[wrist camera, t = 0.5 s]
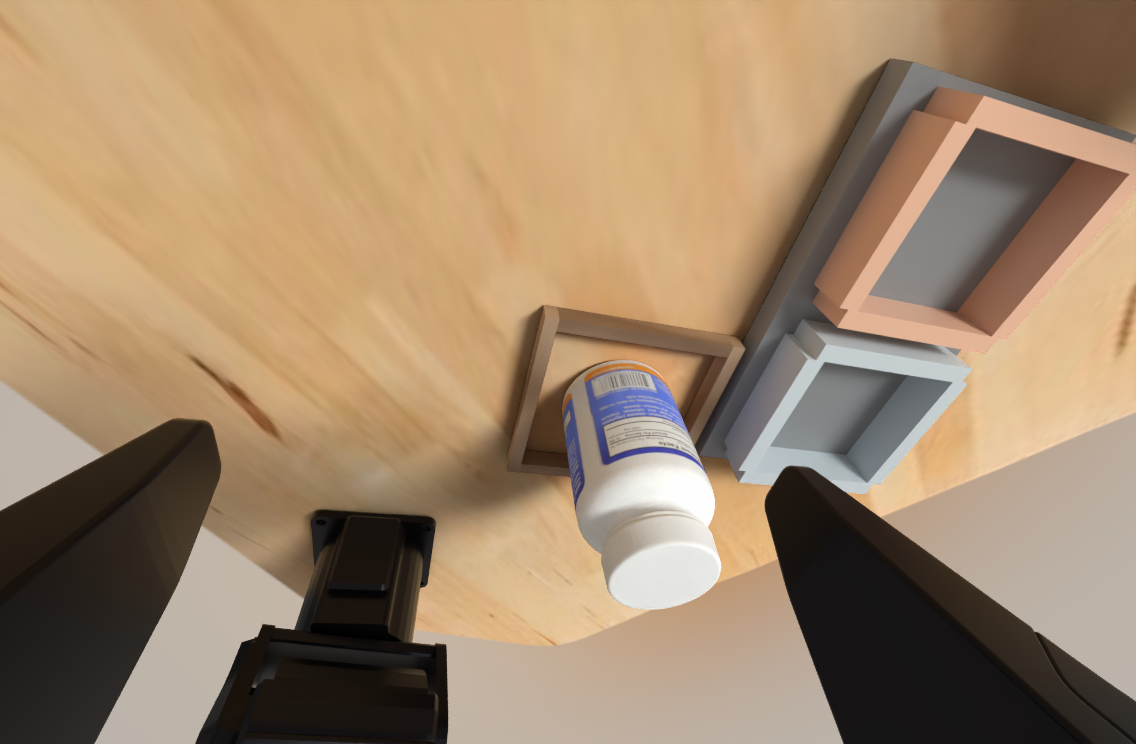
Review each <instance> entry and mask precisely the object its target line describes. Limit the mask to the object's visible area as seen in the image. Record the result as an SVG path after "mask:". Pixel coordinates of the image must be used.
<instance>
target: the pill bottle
mask: <svg viewBox="0 0 1136 744" xmlns="http://www.w3.org/2000/svg"><path fill="white" fill-rule="evenodd" d="M562 417H563V426H564V433H565V439H566V447H567V454H568V461H569V468H570V475H571V482H572V489H573V496H574V504H575V510H576V516H577V521H578V526H579V529H580V531H581V533H582V535H583V537H584V539H585V540H586V541H587V542H588V543H589V545H590V546H591V547H593V548H594V549H595V550H596V551H598V552H599V553H601V554H602V555H601V562H602V567H603V571H604V575H605V580H606V584H607V588H608V591H609V593H610V594H611V596H612V597H613V598H614V599H615V600H616V601H618V602H619V603H621V604H623V605H625V606H628V607H631V608H637V609H650V610H653V609H664V608H670V607H674V606H678V605H681V604H683V603H686V602H688V601H691V600H694V599H696V598H698V597H699V596H701V595H702V594H704V593H706V592H707V591H708V590H709V589H710V588H711V587H712V586H713V585H714V584H715V582H716V581H717V580H718V577H719V575H720V572H721V562H720V559H719V555H718V552H717V549H716V546H715V543H714V539H713V536H712V533H711V531H710V530H709V529H708V526H709V524H710V522H711V520H712V517H713V514H714V509H715V499H714V493H713V490H712V487H711V485H710V482H709V479H708V477H707V475H706V472H705V470H704V468H703V465H702V463H701V461H700V459H699V456H698V454H697V452H696V449H695V447H694V445H693V442H692V440H691V438H690V436H689V433H688V431H687V429H686V426H685V424H684V422H683V419H682V417H681V415H680V412H679V410H678V408H677V405H676V403H675V401H674V398H673V396H672V394H671V392H670V389H669V387H668V385H667V384H666V382H665V380H664V379H663V378H662V376H661V375H660V374H659V373H658V372H657V371H656V370H654V369H653V368H651V367H650V366H648V365H646V364H643V363H641V362H638V361H633V360H614V361H609V362H605V363H602V364H599V365H596V366H594V367H592V368H590V369H588V370H587V371H585V372H584V373H582V374H581V375H580V376H579V377H578V378H576V379H575V380H574V382H573V383H572V384H571V385H570V387H569V388H568V390H567V392H566V394H565V396H564V400H563V405H562Z"/></svg>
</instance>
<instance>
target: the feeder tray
mask: <svg viewBox="0 0 1136 744" xmlns="http://www.w3.org/2000/svg"><path fill="white" fill-rule="evenodd" d="M556 331H557V332H563V333H570V334H576V335H583V336H589V337H596V338H602V339H609V340H615V341H622V342H628V343H635V344H641V345H648V346H654V347H661V348H668V349H674V350H681V351H687V352H694V353H700V354H707V355H713V356H715V358H714V360H713V362H712V364H711V366H710V368H709V370H708V372H707V374H706V376H705V378H704V380H703V382H702V384H701V386H700V388H699V390H698V392H697V394H696V396H695V398H694V400H693V402H692V404H691V407H690V409H689V411H688V413H687V415H686V417H685V419H684V421H683V422H684V424H685V426H686V429H687V431H688V433H689V436H690V438H691V440H692V442H693V445H694V446H695V444H696V442H697V440H698V438H699V436H700V434H701V432H702V430H703V428H704V427H705V425H706V423H707V421H708V419H709V417H710V415H711V413H712V411H713V410H714V408H715V406H716V404H717V402H718V400H719V398H720V396H721V394H722V393H723V391H724V389H725V387H726V385H727V383H728V381H729V379H730V377H731V376H732V374H733V372H734V370H735V368H736V366H737V364H738V362H739V360H740V359H741V357H742V355H743V353H744V351H745V347H744V346H743V344H742V343H741V341H740V340H739V338H738V337H736V336H729V335H723V334H717V333H711V332H705V331H699V330H693V329H687V328H681V327H675V326H669V325H663V324H656V323H650V322H644V321H638V320H632V319H626V318H620V317H614V316H608V315H602V314H596V313H589V312H583V311H577V310H571V309H565V308H559V307H553V306H547V305H544V306H543V310H542V315H541V319H540V323H539V327H538V331H537V335H536V339H535V344H534V348H533V352H532V356H531V360H530V364H529V369H528V373H527V377H526V381H525V385H524V389H523V393H522V398H521V402H520V406H519V410H518V414H517V418H516V423H515V427H514V431H513V435H512V439H511V443H510V447H509V452H508V456H507V471H511V472H522V473H534V474H545V475H556V476H568V477H571V475H570V468H569V461H568V455H567V454H557V453H547V452H536V451H526V450H525V448H526V444H527V440H528V436H529V433H530V429H531V425H532V421H533V418H534V414H535V410H536V406H537V403H538V399H539V395H540V391H541V387H542V384H543V380H544V376H545V372H546V369H547V365H548V361H549V357H550V354H551V350H552V346H553V342H554V339H555V335H556Z"/></svg>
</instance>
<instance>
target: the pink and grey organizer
mask: <svg viewBox="0 0 1136 744" xmlns="http://www.w3.org/2000/svg"><path fill="white" fill-rule="evenodd" d="M1135 137H1136V135H1134V134H1131V133H1128V132H1125V131H1122V130H1119V129H1116V128H1113V127H1110V126H1107V125H1104V124H1101V123H1098V122H1095V121H1091V120H1088V119H1085V118H1082V117H1079V116H1076V115H1073V114H1070V113H1067V112H1064V111H1061V110H1058V109H1055V108H1052V107H1049V106H1046V105H1043V104H1040V103H1037V102H1034V101H1031V100H1028V99H1025V98H1022V97H1018V96H1015V95H1012V94H1009V93H1006V92H1003V91H1000V90H997V89H994V88H991V87H988V86H985V85H982V84H979V83H976V82H973V81H970V80H967V79H964V78H961V77H958V76H955V75H952V74H948V73H945V72H942V71H939V70H936V69H933V68H930V67H927V66H924V65H921V64H918V63H915V62H910V61H904V60H897V59H890V60H889V62H888V64H887V66H886V68H885V70H884V72H883V74H882V76H881V78H880V80H879V82H878V83H877V85H876V87H875V89H874V91H873V93H872V95H871V97H870V99H869V101H868V103H867V105H866V107H865V108H864V110H863V112H862V114H861V116H860V118H859V120H858V122H857V124H856V126H855V128H854V130H853V132H852V133H851V135H850V137H849V139H848V141H847V143H846V145H845V147H844V149H843V151H842V153H841V155H840V157H839V158H838V160H837V162H836V164H835V166H834V168H833V170H832V172H831V174H830V176H829V178H828V180H827V181H826V183H825V185H824V187H823V189H822V191H821V193H820V195H819V197H818V199H817V201H816V203H815V205H814V206H813V208H812V210H811V212H810V214H809V216H808V218H807V220H806V222H805V224H804V226H803V228H802V230H801V231H800V233H799V235H798V237H797V239H796V241H795V243H794V245H793V247H792V249H791V251H790V253H789V255H788V256H787V258H786V260H785V262H784V264H783V266H782V268H781V270H780V272H779V274H778V276H777V278H776V279H775V281H774V283H773V285H772V287H771V289H770V291H769V293H768V295H767V297H766V299H765V301H764V303H763V304H762V306H761V308H760V310H759V312H758V314H757V316H756V318H755V320H754V322H753V324H752V326H751V328H750V329H749V331H748V333H747V335H746V337H745V339H744V341H743V343H742V344H743V346H744V347H745V351H744V353H743V355H742V357H741V359H740V360H739V362H738V364H737V366H736V368H735V370H734V372H733V374H732V376H731V377H730V379H729V381H728V383H727V385H726V387H725V389H724V391H723V393H722V394H721V396H720V398H719V400H718V402H717V404H716V406H715V408H714V410H713V411H712V413H711V415H710V417H709V419H708V421H707V423H706V425H705V427H704V428H703V430H702V432H701V434H700V436H699V438H698V440H697V442H696V444H695V448H696V450H697V453H698V455H699V456H704V457H714V458H723V459H728V461H729V463H730V465H731V467H732V469H733V471H734V473H735V476H736V478H737V480H738V482H740V483H751V484H761V485H772V486H773V484H774V482H775V481H776V479H777V478H778V476H779V474H780V473H781V471H782V470H783V469H784V468H785V467H787V466H790V465H793V466H806V467H810V468H812V469H814V470H815V471H817V472H818V473H820V474H821V475H822V476H824V477H825V478H826V479H828V480H829V481H831V482H832V483H833V484H835V485H836V486H837V487H839V488H840V489H842V490H843V491H844V492H848V493H859V494H866V492H867V491H868V490H869V489H870V488H871V487H872V485H873V484H881V483H882V482H883V481H884V480H885V478H886V477H887V476H888V475H889V474H890V473H891V472H892V470H893V469H894V468H895V467H896V466H897V465H898V464H899V462H900V461H901V460H902V459H903V458H904V457H905V456H906V454H907V453H908V452H909V451H910V450H911V449H912V448H913V446H914V445H915V444H916V443H917V442H918V441H919V439H920V438H921V437H922V436H923V435H924V434H925V433H926V431H927V430H928V429H929V428H930V427H931V426H932V425H933V423H934V422H935V421H936V420H937V419H938V418H939V417H940V415H941V414H942V413H943V412H944V411H945V410H946V409H947V407H948V406H949V405H950V404H951V403H952V402H953V400H954V399H955V398H956V397H957V396H958V395H959V394H960V392H961V391H962V390H963V389H964V388H965V387H966V386H967V384H966V383H965V382H964V381H963V380H964V378H965V377H966V376H967V375H968V374H969V373H970V371H971V370H972V368H971V367H970V366H968V365H967V364H966V363H965V362H963V361H962V360H961V359H960V358H958V357H957V356H956V355H957V354H958V353H959V351H960V350H967V351H973V352H978V353H984V354H986V353H987V352H988V351H989V349H990V348H991V347H992V346H993V345H994V344H995V342H996V341H997V340H998V339H999V338H1002V339H1008V337H1009V336H1010V335H1011V334H1012V333H1013V332H1014V331H1015V329H1016V328H1017V327H1018V326H1019V325H1020V324H1021V323H1022V321H1023V320H1024V319H1025V318H1026V317H1027V316H1028V314H1029V313H1030V312H1031V311H1032V310H1033V309H1034V308H1035V306H1036V305H1037V304H1038V303H1039V302H1040V301H1041V300H1042V298H1043V297H1044V296H1045V295H1046V294H1047V293H1048V292H1049V290H1050V289H1051V288H1052V287H1053V286H1054V285H1055V284H1056V282H1057V281H1058V280H1059V279H1060V278H1061V277H1062V276H1063V274H1064V273H1065V272H1066V271H1067V270H1068V269H1069V267H1070V266H1071V265H1072V264H1073V263H1074V262H1075V261H1076V259H1077V258H1078V257H1079V256H1080V255H1081V254H1082V253H1083V251H1084V250H1085V249H1086V248H1087V247H1088V246H1089V245H1090V243H1091V242H1092V241H1093V240H1094V239H1095V238H1096V237H1097V235H1098V234H1099V233H1100V232H1101V231H1102V230H1103V228H1104V227H1105V226H1106V225H1107V224H1108V223H1109V222H1110V220H1111V219H1112V218H1113V217H1114V216H1115V215H1116V214H1117V212H1118V211H1119V210H1120V209H1121V208H1122V207H1123V206H1124V204H1125V203H1126V202H1127V201H1128V200H1129V199H1130V198H1131V196H1132V195H1133V194H1134V193H1135V192H1136V145H1135V144H1132V143H1131V142H1132V141H1133V140H1134V139H1135Z"/></svg>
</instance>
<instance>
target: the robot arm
mask: <svg viewBox="0 0 1136 744" xmlns="http://www.w3.org/2000/svg"><path fill="white" fill-rule="evenodd" d="M220 474H221V460H220V455H219V451H218V447H217V443H216V439H215V434H214V430H213V427H212V425H211V424H210V423H209V422H208V421H205V420H197V419H184V418H176V419H172V420H169V421H167V422H165V423H163V424H161V425H160V426H158V427H156V428H154V429H152V430H150V431H148V432H147V433H145V434H143V435H141V436H139V437H137V438H135V439H133V440H132V441H130V442H128V443H126V444H124V445H122V446H120V447H119V448H117V449H115V450H113V451H111V452H109V453H107V454H105V455H104V456H102V457H100V458H98V459H96V460H95V461H92V462H91V463H89V464H87V465H85V466H83V467H81V468H80V469H78V470H76V471H74V472H72V473H70V474H68V475H66V476H64V477H63V478H61V479H59V480H57V481H55V482H53V483H51V484H50V485H48V486H46V487H44V488H42V489H40V490H38V491H37V492H35V493H33V494H31V495H29V496H27V497H25V498H24V499H22V500H20V501H18V502H16V503H14V504H12V505H11V506H8V507H7V508H5V509H3V510H1V511H0V744H94V743H95V741H96V740H97V738H98V736H99V734H100V732H101V730H102V728H103V726H104V724H105V722H106V720H107V719H108V716H109V715H110V713H111V711H112V709H113V707H114V705H115V703H116V701H117V700H118V698H119V696H120V694H121V692H122V690H123V688H124V686H125V684H126V682H127V680H128V679H129V677H130V675H131V673H132V671H133V669H134V667H135V665H136V663H137V662H138V660H139V658H140V656H141V654H142V652H143V650H144V648H145V646H146V644H147V643H148V641H149V639H150V637H151V635H152V633H153V631H154V629H155V627H156V625H157V624H158V622H159V620H160V618H161V616H162V614H163V612H164V610H165V608H166V606H167V604H168V602H169V601H170V599H171V597H172V595H173V593H174V591H175V589H176V587H177V585H178V582H179V580H180V577H181V576H182V573H183V571H184V568H185V566H186V564H187V561H188V558H189V556H190V553H191V551H192V548H193V545H194V543H195V540H196V538H197V535H198V533H199V530H200V527H201V525H202V522H203V520H204V517H205V515H206V512H207V509H208V507H209V504H210V502H211V499H212V497H213V494H214V491H215V489H216V486H217V484H218V481H219V478H220ZM765 512H766V515H767V519H768V523H769V527H770V530H771V534H772V538H773V542H774V545H775V549H776V553H777V557H778V560H779V564H780V567H781V571H782V575H783V579H784V582H785V586H786V589H787V592H788V595H789V598H790V601H791V604H792V606H793V609H794V612H795V615H796V617H797V620H798V623H799V625H800V628H801V631H802V633H803V636H804V639H805V642H806V644H807V647H808V650H809V652H810V655H811V657H812V660H813V663H814V666H815V668H816V671H817V674H818V676H819V679H820V682H821V684H822V687H823V690H824V693H825V695H826V698H827V701H828V703H829V706H830V709H831V711H832V714H833V716H834V719H835V722H836V725H837V727H838V730H839V732H840V736H841V738H842V741H843V744H1136V701H1135V700H1133V699H1132V698H1130V697H1129V696H1127V695H1126V694H1124V693H1123V692H1121V691H1120V690H1118V689H1117V688H1115V687H1114V686H1113V685H1111V684H1110V683H1108V682H1107V681H1105V680H1104V679H1103V678H1101V677H1100V676H1098V675H1097V674H1095V673H1094V672H1093V671H1091V670H1090V669H1089V668H1087V667H1086V666H1084V665H1083V664H1081V663H1080V662H1079V661H1077V660H1076V659H1075V658H1073V657H1071V656H1070V655H1069V654H1068V653H1066V652H1065V651H1063V650H1062V649H1061V648H1059V647H1058V646H1057V645H1055V644H1054V643H1052V642H1051V641H1050V640H1048V639H1047V638H1045V637H1044V636H1043V635H1041V634H1040V633H1038V632H1034V631H1033V629H1032V628H1031V627H1030V626H1029V625H1027V624H1026V623H1025V622H1023V621H1022V620H1020V619H1019V618H1018V617H1016V616H1015V615H1014V614H1012V613H1011V612H1010V611H1008V610H1007V609H1005V608H1004V607H1003V606H1001V605H1000V604H998V603H997V602H996V601H994V600H993V599H991V598H990V597H989V596H987V595H986V594H984V593H983V592H982V591H981V590H979V589H978V588H976V587H975V586H974V585H972V584H971V583H969V582H968V581H967V580H965V579H964V578H963V577H961V576H960V575H959V574H957V573H956V572H954V571H953V570H952V569H950V568H949V567H947V566H946V565H945V564H943V563H942V562H941V561H939V560H938V559H937V558H935V557H934V556H932V555H931V554H930V553H928V552H927V551H925V550H924V549H923V548H921V547H920V546H919V545H917V544H916V543H915V542H913V541H912V540H910V539H909V538H908V537H906V536H905V535H903V534H902V533H901V532H899V531H898V530H897V529H895V528H894V527H892V526H891V525H890V524H888V523H887V522H886V521H884V520H883V519H881V518H880V517H879V516H877V515H876V514H875V513H873V512H872V511H870V510H869V509H868V508H866V507H865V506H864V505H862V504H861V503H859V502H858V501H857V500H855V499H854V498H853V497H851V496H850V495H848V494H847V493H846V492H844V491H843V490H842V489H840V488H839V487H837V486H836V485H835V484H833V483H832V482H831V481H829V480H828V479H826V478H825V477H824V476H822V475H821V474H820V473H818V472H817V471H815V470H814V469H812V468H810V467H806V466H793V465H790V466H787V467H785V468H784V469H783V470H782V471H781V473H780V474H779V476H778V478H777V479H776V481H775V482H774V484H773V486H772V487H771V489H770V490H769V492H768V494H767V496H766V498H765ZM311 527H312V539H313V552H314V564H315V569H314V572H313V575H312V578H311V581H310V584H309V587H308V590H307V593H306V596H305V599H304V602H303V605H302V608H301V612H300V615H299V617H298V621H297V623H296V626H295V629H294V630H291V629H282V628H275V625H266V624H263V625H262V628H261V630H260V632H259V635H258V637H255V638H254V639H251V640H248V641H245V642H242V643H241V645H240V648H239V650H238V653H237V655H236V658H235V660H234V663H233V665H232V667H231V670H230V672H229V675H228V677H227V679H226V681H225V684H224V686H223V688H222V690H221V692H220V694H219V696H218V698H217V700H216V701H215V704H214V706H213V707H212V709H211V711H210V714H209V715H208V718H207V719H206V721H205V723H204V725H203V727H202V729H201V731H200V733H199V736H198V738H197V741H196V744H447V734H448V690H447V650H446V644H438V643H436V644H435V645H429V644H420V643H412V640H413V633H414V626H415V619H416V612H417V605H418V598H419V591H420V588H422V587H425V586H426V585H427V583H428V576H429V569H430V562H431V555H432V548H433V541H434V534H435V527H436V521H435V520H434V519H432V518H429V517H415V516H400V515H384V514H369V513H353V512H338V511H317V512H315V513H314V515H313V518H312V520H311Z"/></svg>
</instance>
